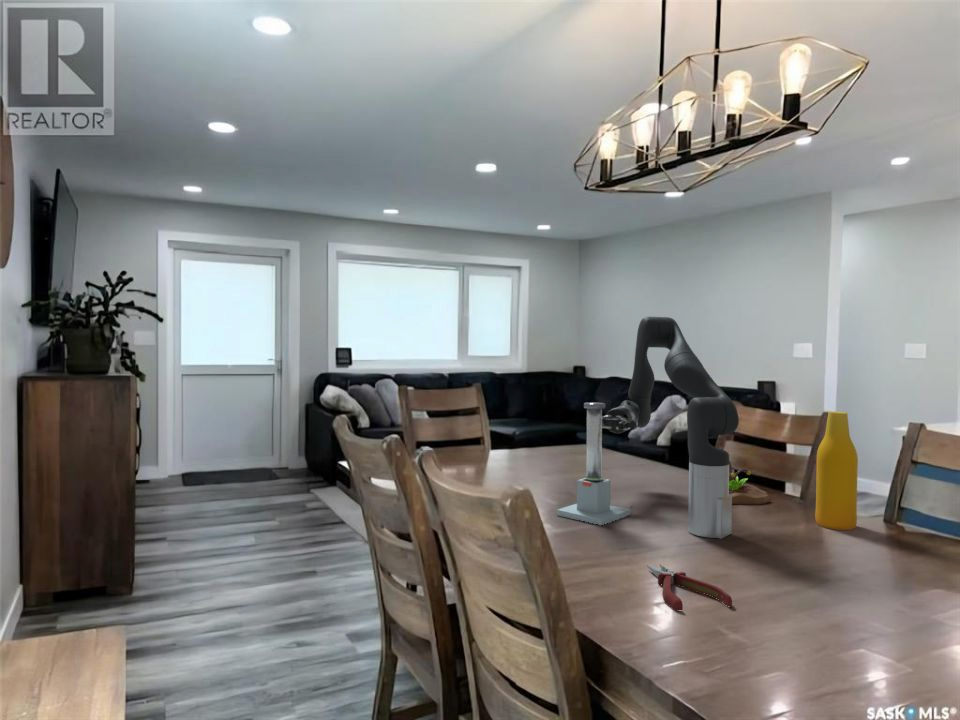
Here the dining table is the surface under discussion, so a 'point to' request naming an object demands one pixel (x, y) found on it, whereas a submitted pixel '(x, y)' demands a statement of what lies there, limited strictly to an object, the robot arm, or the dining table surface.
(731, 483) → the plant
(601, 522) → the stand base
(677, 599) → the pliers
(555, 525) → the dining table surface
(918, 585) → the dining table surface
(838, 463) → the beer bottle
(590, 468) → the column
